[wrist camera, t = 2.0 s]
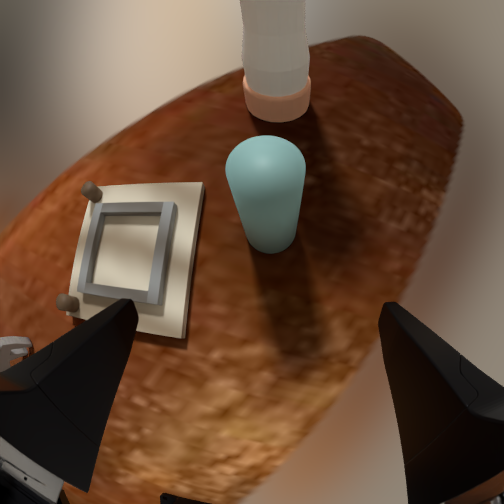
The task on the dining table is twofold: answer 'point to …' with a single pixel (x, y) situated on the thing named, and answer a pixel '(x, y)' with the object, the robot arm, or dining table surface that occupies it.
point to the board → (137, 253)
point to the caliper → (12, 349)
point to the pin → (267, 190)
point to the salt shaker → (275, 59)
